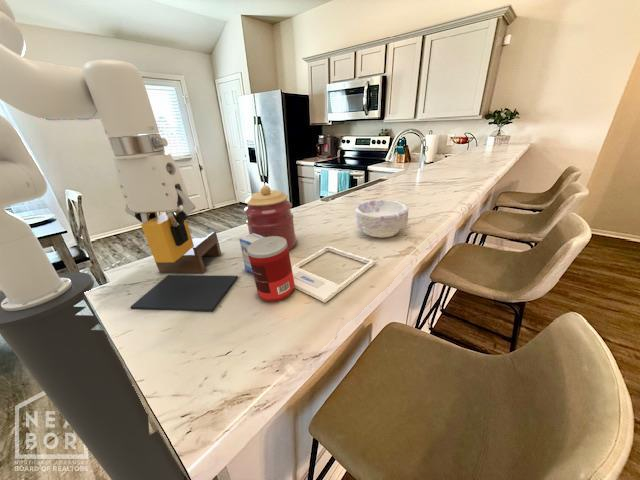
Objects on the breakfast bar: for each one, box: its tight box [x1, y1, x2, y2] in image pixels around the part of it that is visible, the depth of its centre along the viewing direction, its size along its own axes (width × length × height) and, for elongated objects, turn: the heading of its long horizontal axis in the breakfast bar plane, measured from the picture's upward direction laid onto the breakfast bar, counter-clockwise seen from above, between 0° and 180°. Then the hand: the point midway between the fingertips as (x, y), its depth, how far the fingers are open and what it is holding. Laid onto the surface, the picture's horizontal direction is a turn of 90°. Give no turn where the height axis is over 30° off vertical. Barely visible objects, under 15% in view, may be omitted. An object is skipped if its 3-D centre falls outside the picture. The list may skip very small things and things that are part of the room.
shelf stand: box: [155, 230, 222, 274], centre depth 69 cm, size 12×10×7 cm
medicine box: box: [238, 233, 264, 274], centre depth 62 cm, size 8×4×9 cm, turn 49°
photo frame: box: [291, 245, 375, 304], centre depth 61 cm, size 15×1×18 cm
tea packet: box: [140, 212, 194, 263], centre depth 52 cm, size 4×7×8 cm, turn 173°
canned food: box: [247, 236, 295, 302], centre depth 53 cm, size 8×8×11 cm
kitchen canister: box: [243, 185, 297, 251], centre depth 73 cm, size 13×13×18 cm
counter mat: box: [129, 274, 238, 313], centre depth 58 cm, size 18×12×1 cm, turn 83°
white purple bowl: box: [354, 199, 409, 239], centre depth 79 cm, size 15×15×8 cm
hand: (171, 242), depth 53 cm, fingers closed on tea packet, 4 cm apart
